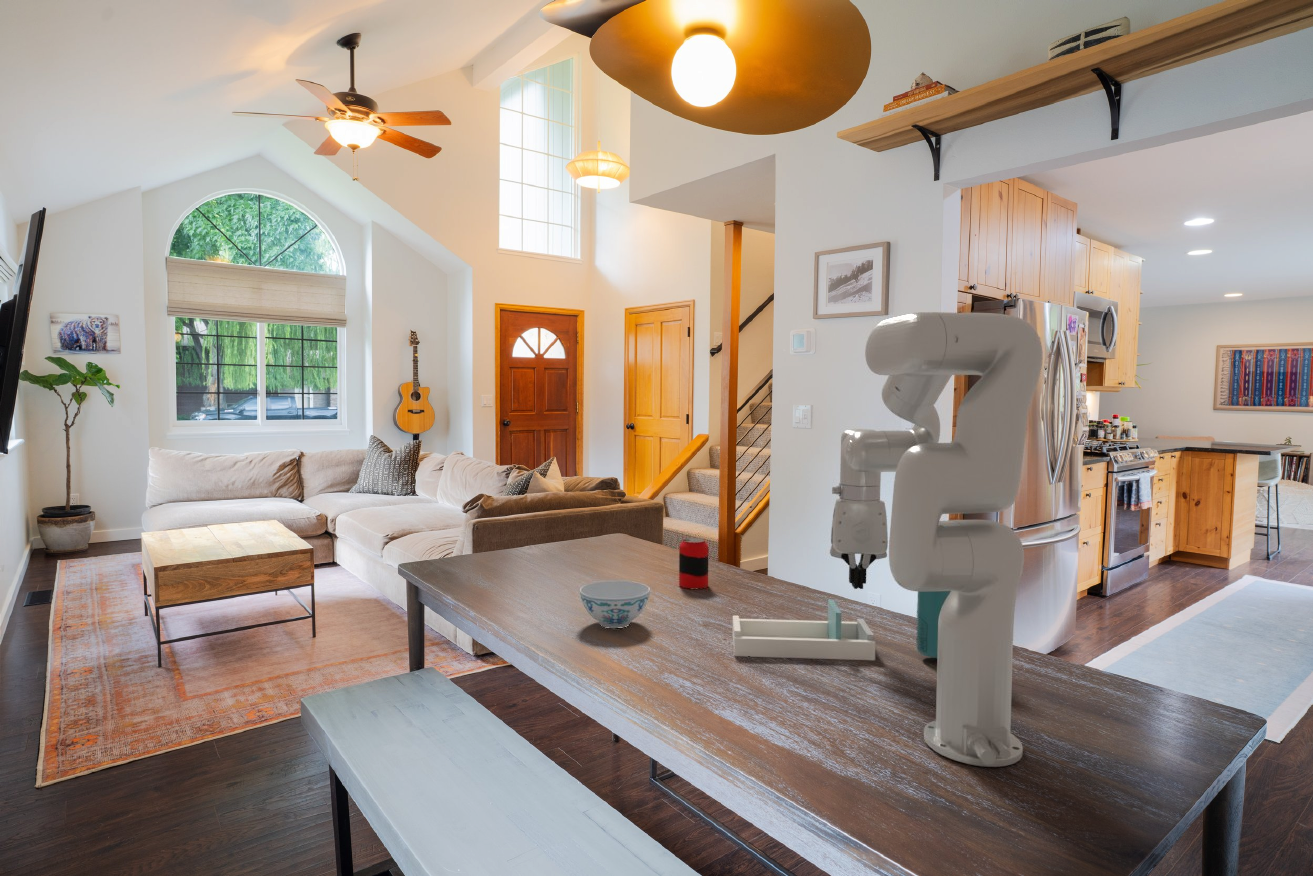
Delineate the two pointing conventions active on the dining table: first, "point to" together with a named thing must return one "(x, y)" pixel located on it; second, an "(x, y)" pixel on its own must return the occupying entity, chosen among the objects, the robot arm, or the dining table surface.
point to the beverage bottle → (929, 621)
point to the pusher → (834, 620)
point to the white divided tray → (801, 639)
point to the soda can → (693, 563)
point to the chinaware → (614, 601)
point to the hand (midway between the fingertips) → (857, 586)
